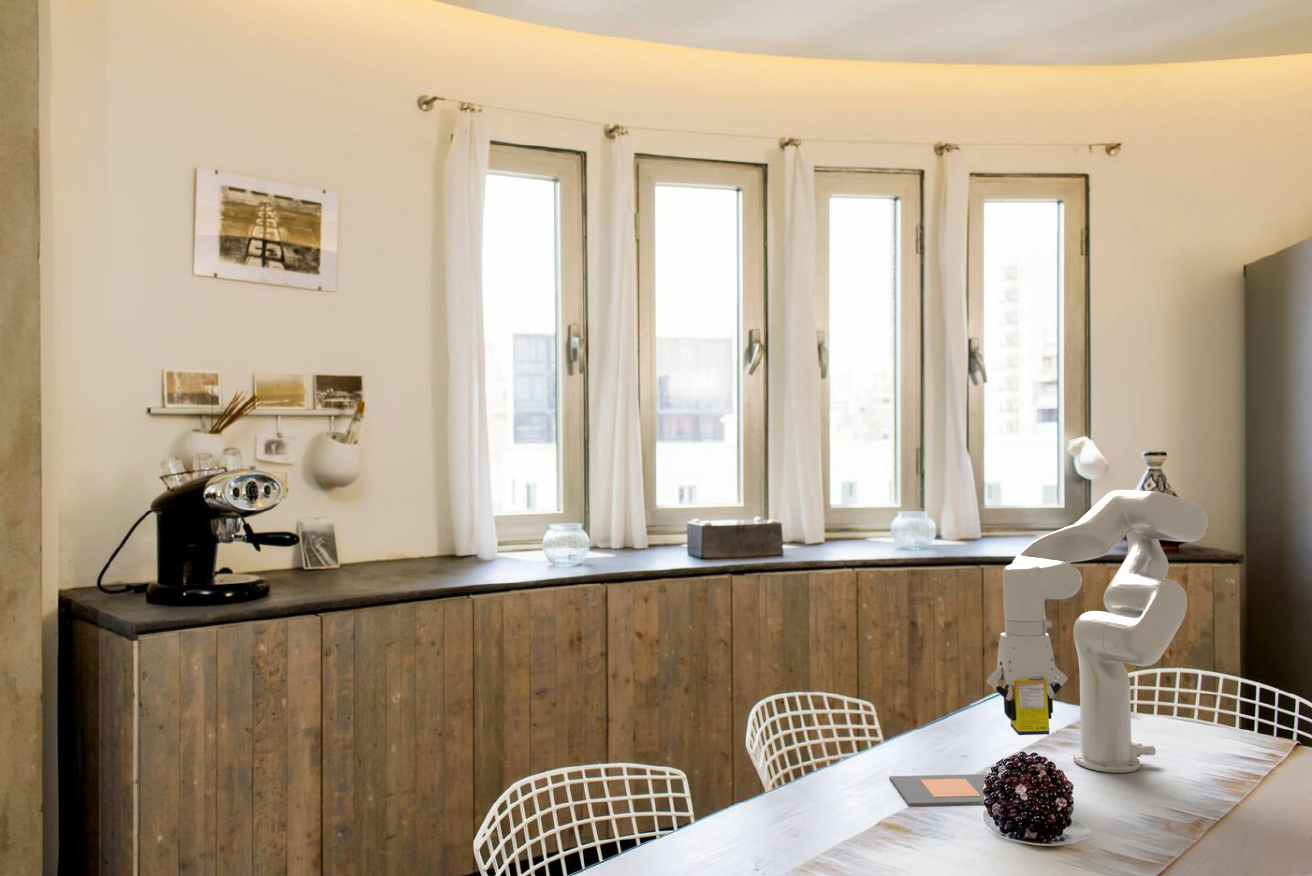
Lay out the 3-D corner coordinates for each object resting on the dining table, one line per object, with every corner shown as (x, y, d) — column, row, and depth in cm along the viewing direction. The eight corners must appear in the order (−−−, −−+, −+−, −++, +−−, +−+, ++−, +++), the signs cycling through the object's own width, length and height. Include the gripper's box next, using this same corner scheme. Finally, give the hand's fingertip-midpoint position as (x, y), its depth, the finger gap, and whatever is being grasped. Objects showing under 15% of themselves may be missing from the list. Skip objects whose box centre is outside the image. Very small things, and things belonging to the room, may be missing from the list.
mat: (988, 776, 190) (987, 773, 190) (1015, 803, 176) (1014, 800, 176) (889, 778, 190) (889, 775, 190) (908, 805, 176) (908, 802, 176)
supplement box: (1040, 725, 188) (1037, 671, 188) (1049, 735, 182) (1047, 679, 182) (1009, 726, 189) (1007, 671, 188) (1018, 735, 183) (1015, 680, 182)
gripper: (1060, 621, 189) (1064, 709, 189) (974, 625, 189) (978, 714, 189) (1077, 629, 181) (1081, 721, 182) (988, 633, 181) (992, 726, 181)
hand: (1028, 716), depth 185 cm, fingers closed on supplement box, 6 cm apart
